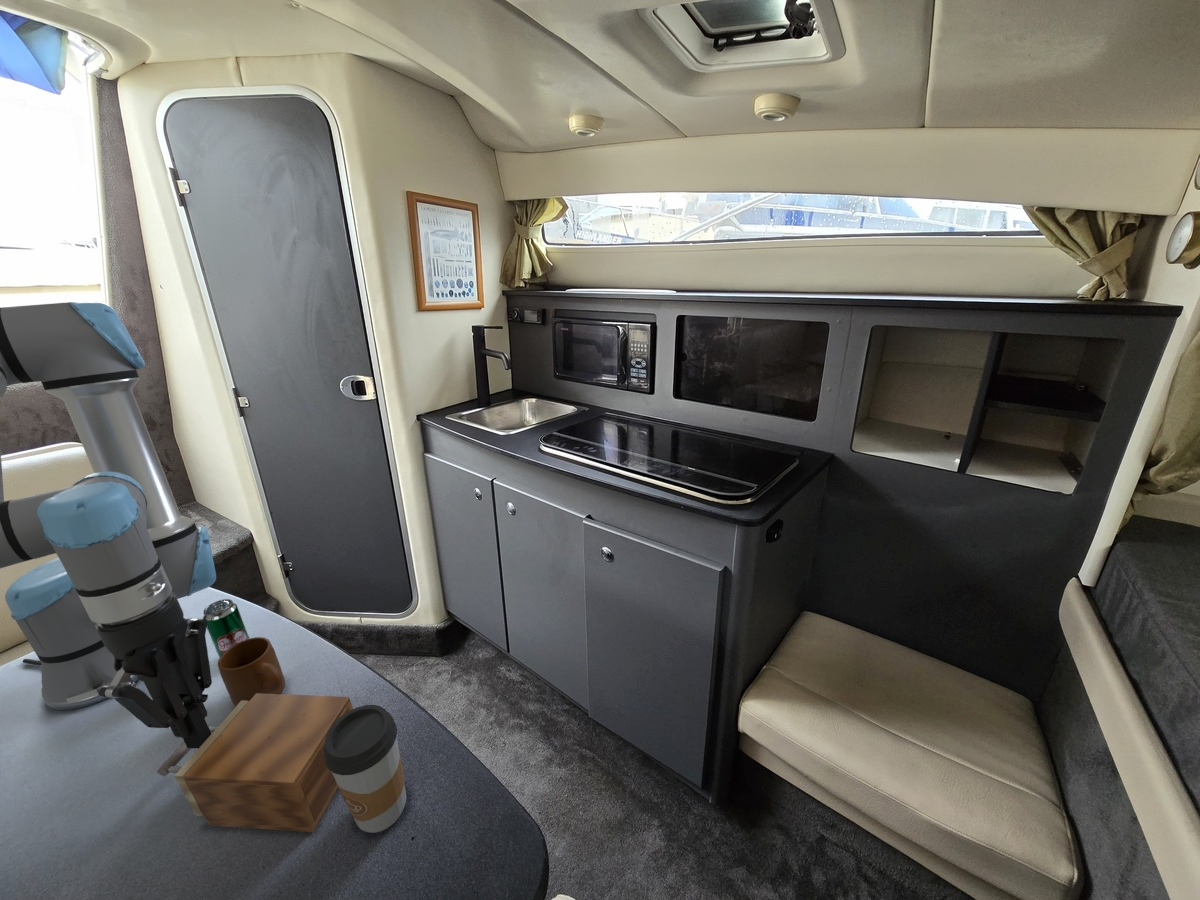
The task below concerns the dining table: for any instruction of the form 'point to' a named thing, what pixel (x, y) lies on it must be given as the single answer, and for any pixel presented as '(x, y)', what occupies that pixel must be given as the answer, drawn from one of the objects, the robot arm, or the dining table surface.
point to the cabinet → (270, 765)
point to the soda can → (224, 625)
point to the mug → (251, 670)
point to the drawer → (195, 758)
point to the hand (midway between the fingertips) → (200, 743)
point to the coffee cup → (367, 766)
